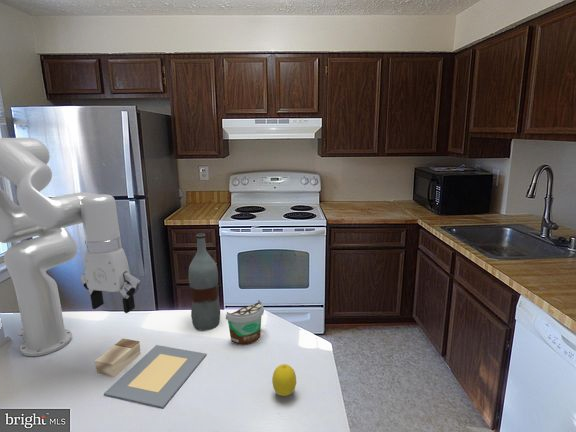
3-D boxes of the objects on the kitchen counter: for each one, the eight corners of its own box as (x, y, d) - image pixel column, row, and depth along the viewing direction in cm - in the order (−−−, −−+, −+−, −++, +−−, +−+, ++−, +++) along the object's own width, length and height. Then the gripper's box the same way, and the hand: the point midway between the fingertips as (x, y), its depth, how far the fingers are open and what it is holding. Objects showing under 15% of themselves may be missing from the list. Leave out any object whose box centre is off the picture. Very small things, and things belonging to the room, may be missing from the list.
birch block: (96, 374, 89) (94, 360, 89) (124, 351, 99) (122, 338, 98) (114, 378, 88) (112, 363, 87) (140, 354, 97) (139, 341, 96)
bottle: (213, 333, 107) (207, 239, 100) (186, 329, 109) (179, 238, 102) (225, 317, 116) (220, 231, 109) (200, 315, 118) (194, 229, 111)
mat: (103, 395, 82) (103, 393, 82) (156, 346, 101) (156, 344, 100) (163, 408, 78) (163, 406, 78) (206, 355, 96) (206, 353, 96)
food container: (238, 353, 97) (237, 320, 95) (226, 343, 102) (225, 312, 100) (272, 336, 105) (272, 306, 103) (260, 328, 110) (259, 299, 107)
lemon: (277, 406, 78) (277, 375, 76) (269, 390, 83) (268, 361, 81) (300, 399, 80) (300, 369, 78) (290, 384, 85) (290, 355, 83)
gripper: (63, 247, 85) (74, 312, 88) (122, 251, 80) (132, 319, 84) (87, 238, 92) (97, 298, 95) (144, 242, 87) (152, 305, 91)
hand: (113, 308), depth 90 cm, fingers open, 9 cm apart
